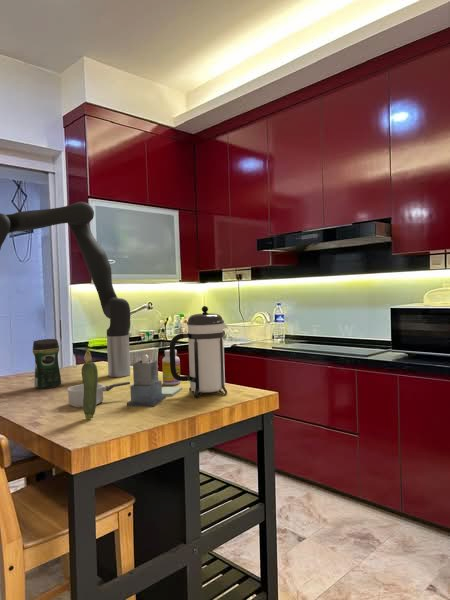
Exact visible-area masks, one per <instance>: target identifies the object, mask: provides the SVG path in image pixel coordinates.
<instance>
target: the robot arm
mask: <svg viewBox="0 0 450 600" xmlns="http://www.w3.org/2000/svg"><path fill="white" fill-rule="evenodd" d="M94 216H95V211H94V208H93V207H92V205H90V204H89V203H87V202H85V201H77V202H74V203H72V204H68V205H65V206H60V207H54V208H46V209H45V208H44V209H33V210H25V211H23V210H22V211H17V212H15V213H11V214H9V213H8V214H4V213H1V212H0V250H1V249H2V246H3V243H5V240H6V238H7V236H8V234H10V233H14V232H22V231H32V230H38V229H43V228H48V227H52V226H55V225H57V226H58V225H61V224H68V226H69V228H70V230H71V231H72V234H73V235H74V238H75V240H76V242H77V245H78V248H79V251H80V253H81V255H82V258H83V260H84V264H85V266H86V268H87V271H88V273H89V276H90V277H91V280H92V282H93V285H94V287H95V290H96V293H97V295H98V298H99V299H98V300H99V302H100V305H101V309H102V312H103V315H105V317H106V318H107V319H109V327H108V328H107V329H106V347H107V349H106V350H107V352H106V353H107V369H108V370H107V371H108V372H107V374H108V377H110V378H121V377H127V376H130V375H131V354H130V352H131V351H130V339H129V338H130V335H129V334H130V330H131V307H130V304H129V302H128V300H126V299H124V298H122V297H121V298H120V297H118V296H117V294H116V292H115V289H114V286H113V279H112V277H113V275H112V274H113V273H112V267H111V263H110V260H109V258H108V255H107V253H106V251H105V250H104V248H103V247H102V245H101V244H100V243H99V242H98V241H97V239H96V238H95V237H94V235H93V233H92V231H91V228H90V225H89V223H91V222H92V221H93V219H94Z"/></svg>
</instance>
